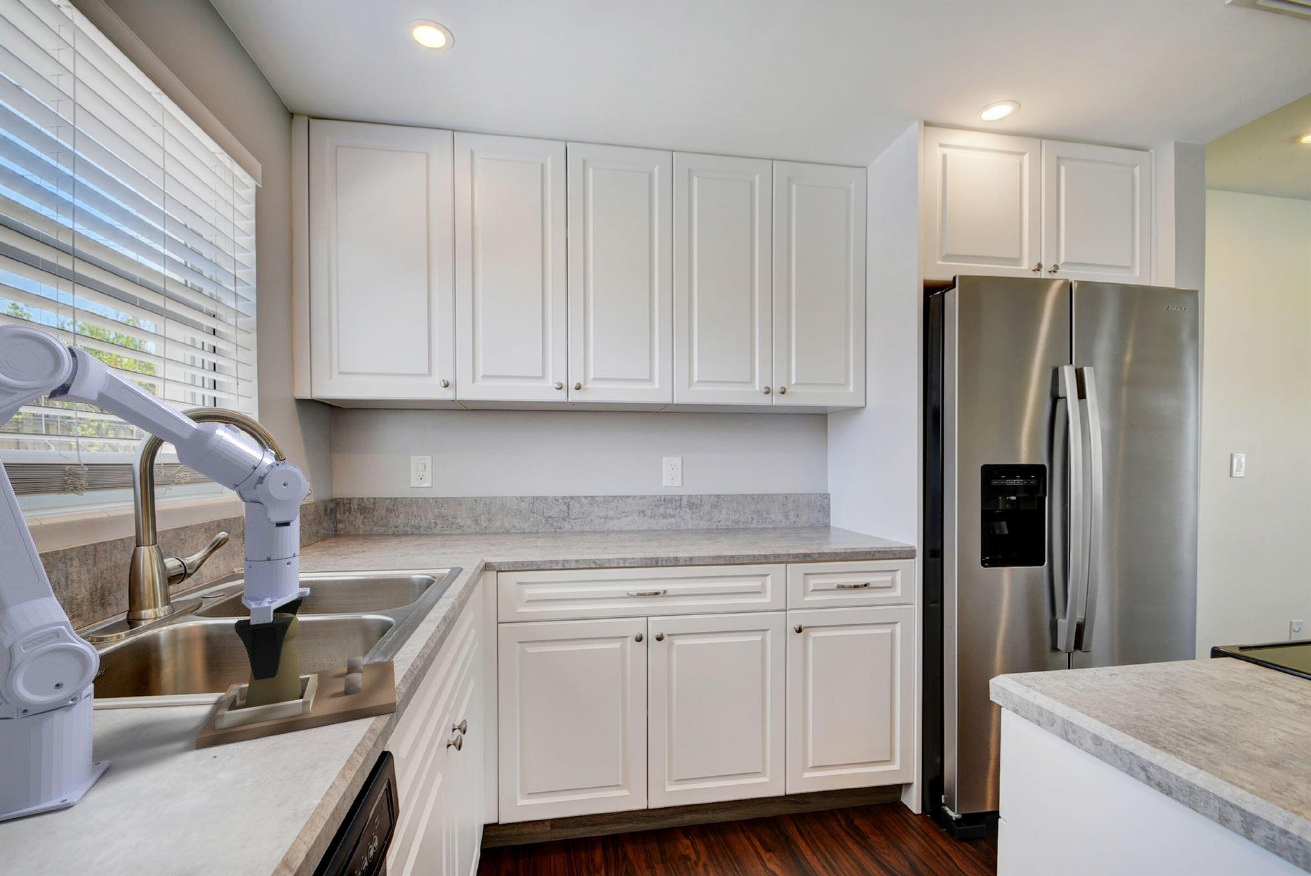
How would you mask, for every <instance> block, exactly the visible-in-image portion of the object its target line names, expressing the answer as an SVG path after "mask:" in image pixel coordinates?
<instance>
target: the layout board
mask: <svg viewBox="0 0 1311 876" xmlns="http://www.w3.org/2000/svg"><path fill="white" fill-rule="evenodd" d="M346 665H347V666H346V667H345V666H343V667H338V668H332V669H326V670H319V671H313V672H304V673H299V676H300V683H301V690H302V697H303V699H300V700H294V701H288V702H282V703H276V704H270V705H264V706H258V707H252V708H246V709H245V703H246V697H247V691H248V685H249V681H246V682H239V683H234V684H233V683H231V684H230V685H229V687H228V688H227V689H226V692H225V693H224V694H223V695H222V698H221V699H220V700H219V702H218V704H217V705H216V707H215V708H214V710H213V711H212V713H211V715H210V716H209V718H208V719H207V721H206V722H205V724H204V725H203V726H202V728H201V729H200V732H199V733H198V734H197V736H196V737H195V749H196V750H198V749H204V748H208V747H213V746H221V745H224V744H231V743H234V742H235V743H236V742H240V741H241V742H242V741H246V740H251V739H252V740H253V739H257V738H262V737H267V736H271V735H272V736H273V735H279V734H283V733H289V732H294V731H300V730H305V729H309V728H316V727H320V726H321V727H322V726H326V725H331V724H336V723H342V722H346V721H353V720H357V719H363V718H368V717H369V718H370V717H375V716H379V715H380V716H381V715H384V714H385V715H386V714H390V713H394V712H395V713H396V712H397V696H396V695H397V694H396V679H395V663H394V660H392V659H391V660H386V661H378V662H377V661H376V662H372V663H365V664H364V657H363V656H362V655H356V656H351V657H349V658H347V662H346Z"/></svg>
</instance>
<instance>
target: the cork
mask: <svg viewBox="0 0 1311 876" xmlns="http://www.w3.org/2000/svg"><path fill="white" fill-rule="evenodd" d="M275 616H277V618H285V617H294V619H293V621H292V622H291V624H290V626H289V628H288V630H287V633H286V636H285V639H284V643H283V647H282V652H281V659H280V664H279V668H278V672H277V674H276V677H274V678H267V679H261V680H255V679H254V676H253V673H252V669H251V668H250V673H249V679H248V682H249V685H248V691H247V697H246V703H245V709H246V708H252V707H258V706H264V705H270V704H276V703H282V702H288V701H294V700H300V699H303V697H302V690H301V683H300V676H299V674H300V671H299V670H300V669H299V662H298V657H297V656H298V655H297V650H296V643H295V639H296V637H297V636H298V634H299V631H300V620H299V618H297V615H296V616H295V615H293V614H289V613H278V614H275Z"/></svg>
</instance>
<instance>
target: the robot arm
mask: <svg viewBox="0 0 1311 876" xmlns="http://www.w3.org/2000/svg"><path fill="white" fill-rule="evenodd" d="M47 394H48V396H47V401H52V402H53V401H54V402H64V403H65V402H66V403H76V404H87V405H92V406H95V407H98V408H100V409H101V410H103V411H105V412H107V413H109V414H111V415H112V416H115V417H117V418H119V419H121V420H123V421H125V422H127V423H129V424H131V425H133V426H135V427H137V428H138V429H141V430H143V431H144V432H147V433H149V434H151V435H152V436H155V437H157V438H158V439H161V440H163V441H164V442H167V443H169V444H171V445H173V446H174V449H175V452H176V456H177V460H178V461H179V463H180V464H182V465H183V466H186V467H187V468H189V469H192V471H195V472H197V473H199V474H201V475H203V476H205V477H207V478H209V479H210V480H212V481H214V482H216V483H218V484H220V485H222V486H223V487H226V488H227V489H229V490H231V491H235V493H236V495H237V497H238V498H239V499H240V501H242V502H243V503H245V504H244V507H245V508H244V509H245V512H244V514H245V515H244V517H245V518H244V547H243V548H244V549H243V551H244V556H243V562H244V564H243V594H242V596H241V603H242V604H243V605H244V606H245V607H246V608H247V609H248V610H249V611H250V615H249V617H250V618H247V619H238V620H237V621H236V622H235V623H234V630H235V633H236V634H237V635H238V637H239V638H240V640H241V641H242V644H243V645H244V647H245V650H246V653H247V656H248V660H249V665H250V670H251V669H252V673H253V676H254V679H255V680H261V679H267V678H274V677H276V674H277V672H278V668H279V664H280V659H281V652H282V647H283V643H284V639H285V636H286V633H287V630H288V628H289V626H290V624H291V622H292V621H293V619H294V617H285V618H277V616H275V614H278V613H289V614H293V615H295V616H296V617H297V614H298V611H299V608H300V607H301V605H302V603H303V601H304V597H308V596H309V595H310V593H311V588H310V587H300V538H301V537H300V526H301V524H300V520H301V519H300V516H301V514H300V506H301V503H302V502H303V501H304V500H305V498H306V497H307V496H308V493H309V491H310V487H311V483H310V482H308V481H307V477H306V475H305V474H303V473H304V471H303V469H301V467H299V466H298V465H297V464H295V463H292V462H289V461H280V460H279V461H278V460H277V461H276V457H275V455H276V452H275V451H274V450H273V449H271V448H265V449H264V448H263V449H262V448H261V447H260V446H258V445H256V444H254V443H253V442H251V441H250V440H248V439H246V438H244V437H243V436H241V435H240V434H239V433H240V431H241V429H240V428H239V427H237V426H236V425H234V424H233V423H225V424H224V425H223V424H221V423H220V422H217V421H209V422H208V421H207V422H202V423H199V422H197V421H195V420H193V419H192V418H190V417H188V415H187V416H186V415H185V414H184V413H182V412H181V411H179V410H177V409H176V408H174V407H173V406H171V405H169V404H168V403H166V402H165V401H164V400H162V399H160V398H159V397H157V396H156V395H154V394H152V393H151V392H150V391H148V390H146V389H145V388H144V387H142V386H140V385H139V384H137V383H136V382H134V381H132V380H131V379H129V378H128V377H126V376H124V375H123V374H122V373H120V372H118V371H117V370H115V368H114V369H113V368H112V367H111V366H110V365H107V364H105V362H103V361H101V360H100V359H98V358H96V356H93V355H92V354H90V353H89V352H87V351H85V350H83V349H80V348H79V347H76V346H73V345H72V344H70V345H68V346H66V345H65V343H63V341H61V340H60V339H59V338H58V337H56V336H55V335H53V334H52V333H50V332H48V331H46V330H44V329H41V328H38V327H34V326H31V325H27V324H26V325H25V324H4V325H0V430H1V429H2V428H3V427H4V426H5V425H6V424H7V423H8V422H9V421H10V420H12V418H13V417H14V416H15V415H16V414H17V413H18V412H19V411H20V409H21V408H22V407H24V406H26V405H27V404H29V403H31V402H33V401H35V400H37V399H38V398H42V396H45V395H47ZM6 471H7V470H6V468H5V465H4V463H3V461H2V459H1V457H0V822H1V821H5V820H11V819H15V818H20V817H24V816H30V815H35V814H39V813H45V812H49V811H55V810H60V809H64V808H68V807H72V806H74V805H76V804H77V803H78V802H79V801H80V800H81V799H82V798H83V797H84V795H85V794H86V793H87V792H88V791H89V789H91V787H92V786H93V785H94V784H95V782H97V780H99V778H100V777H101V776H102V775H103V773H104V772H106V770H107V769H108V768H109V767H110V765H111V760H109V759H107V760H106V759H105V760H100V761H93V751H94V750H93V748H94V745H93V743H94V739H93V738H94V730H93V729H94V694H95V693H94V687H95V685H94V682H93V681H94V679H95V678H96V676H97V674H98V671H99V667H100V662H101V661H100V655H99V653H98V650H97V649H96V647H95V646H94V645H93V644H92V643H90V642H89V641H87V640H86V639H83V638H82V637H80V636H79V635H78V634H77V632H75V630H74V629H73V626H72V624H71V621H70V619H69V618H68V614H66V612H65V611H64V609H63V608H62V606H61V604H60V602H59V600H58V599H57V597H56V595H55V593H54V590H53V588H52V585H51V583H50V580H49V578H48V575H47V573H46V570H45V567H44V565H43V562H42V560H41V557H40V555H39V552H38V550H37V548H36V547H37V546H36V544H35V542H34V539H33V537H32V534H31V532H30V530H29V527H28V524H27V522H26V520H25V517H24V515H23V514H24V513H23V512H22V509H21V507H20V504H19V501H18V499H17V497H16V494H15V491H14V489H13V487H12V484H11V481H10V478H9V476H8V474H7V472H6Z"/></svg>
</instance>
